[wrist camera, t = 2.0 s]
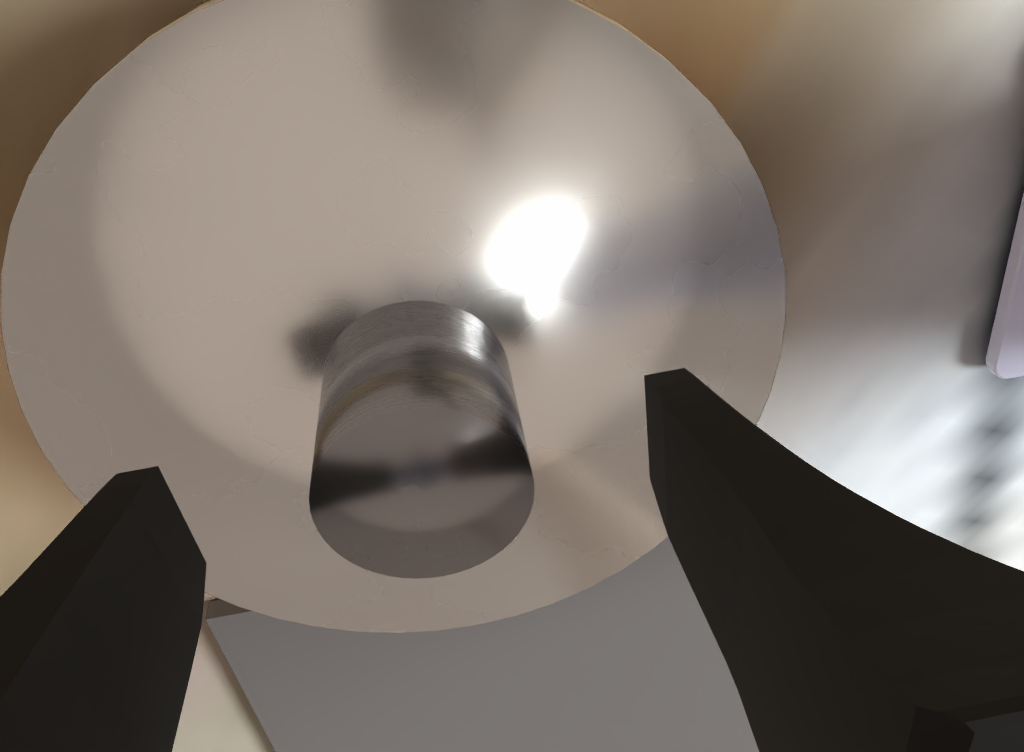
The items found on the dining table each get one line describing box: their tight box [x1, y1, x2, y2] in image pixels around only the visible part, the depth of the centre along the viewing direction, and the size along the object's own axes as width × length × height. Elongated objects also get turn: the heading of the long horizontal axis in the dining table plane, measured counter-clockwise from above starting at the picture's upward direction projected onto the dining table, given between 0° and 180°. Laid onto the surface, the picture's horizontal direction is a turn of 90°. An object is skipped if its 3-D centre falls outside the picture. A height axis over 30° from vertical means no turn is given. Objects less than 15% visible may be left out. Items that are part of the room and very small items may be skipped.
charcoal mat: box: [206, 537, 759, 752], centre depth 26 cm, size 16×16×1 cm
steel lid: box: [1, 0, 786, 633], centre depth 13 cm, size 13×13×4 cm
